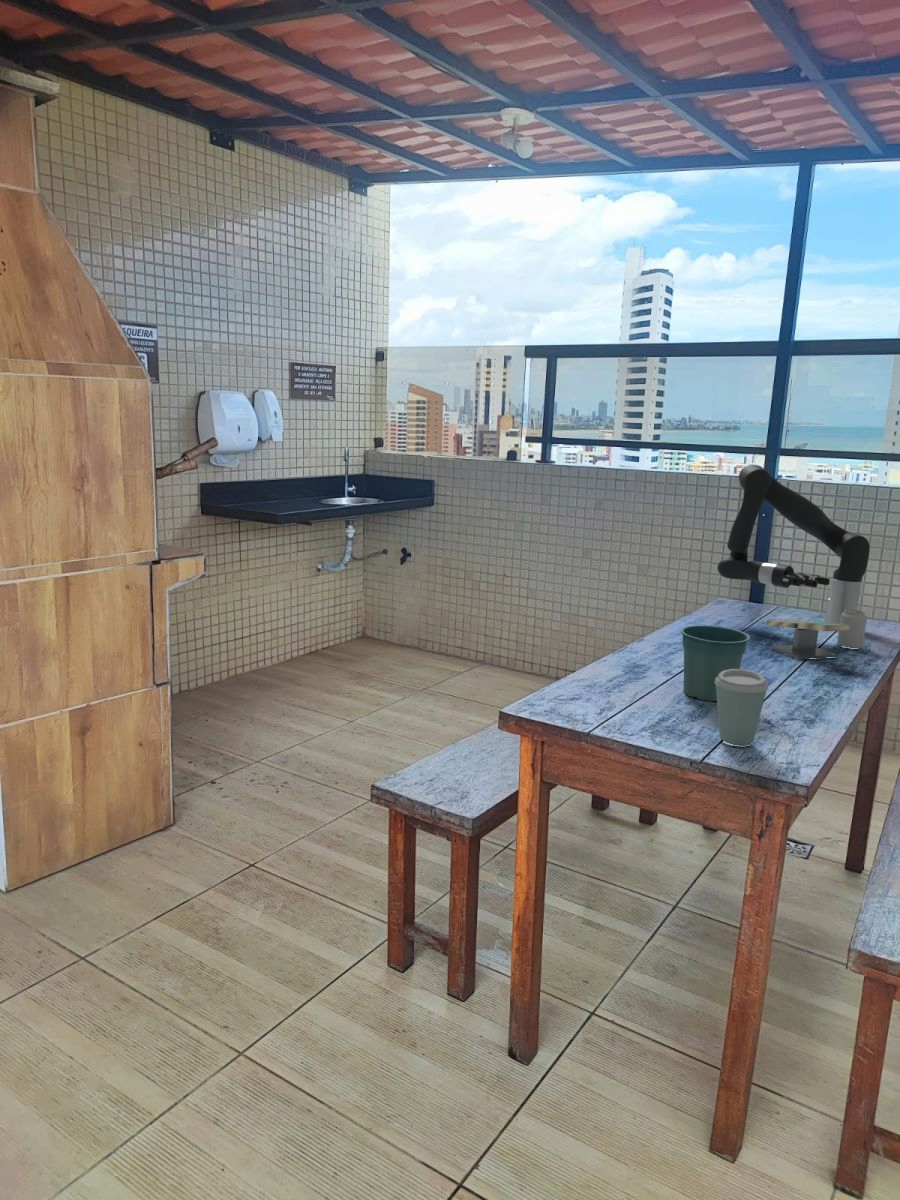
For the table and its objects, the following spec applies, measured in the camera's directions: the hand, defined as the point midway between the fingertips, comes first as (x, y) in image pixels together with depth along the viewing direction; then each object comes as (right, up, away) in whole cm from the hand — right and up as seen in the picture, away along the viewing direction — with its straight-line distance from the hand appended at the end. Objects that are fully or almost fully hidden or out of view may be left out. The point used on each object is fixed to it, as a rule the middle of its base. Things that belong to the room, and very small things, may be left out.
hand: (823, 583), depth 272 cm
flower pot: (-56, -30, -61) cm, 88 cm away
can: (+7, -21, -4) cm, 22 cm away
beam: (-12, -13, -17) cm, 25 cm away
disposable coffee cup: (-60, -36, -93) cm, 117 cm away
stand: (-13, -22, -16) cm, 30 cm away
